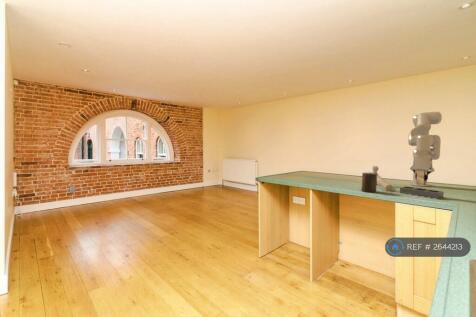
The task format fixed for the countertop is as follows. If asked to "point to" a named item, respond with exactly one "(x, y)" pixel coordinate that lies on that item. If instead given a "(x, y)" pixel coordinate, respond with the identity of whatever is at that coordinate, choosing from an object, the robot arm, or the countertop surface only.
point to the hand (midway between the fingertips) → (421, 179)
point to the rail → (422, 192)
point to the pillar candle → (369, 182)
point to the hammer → (381, 180)
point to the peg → (420, 177)
